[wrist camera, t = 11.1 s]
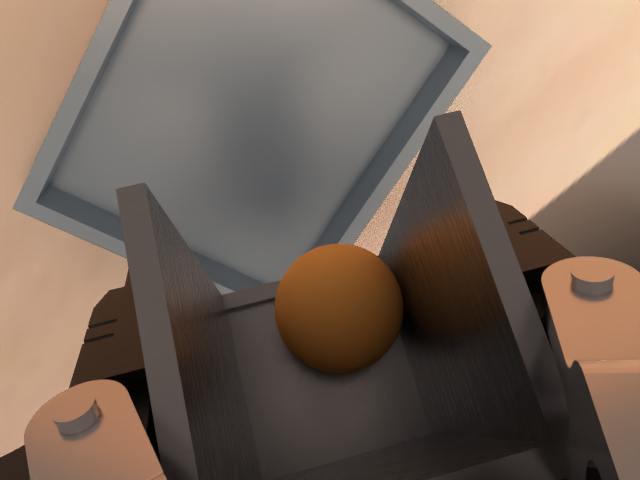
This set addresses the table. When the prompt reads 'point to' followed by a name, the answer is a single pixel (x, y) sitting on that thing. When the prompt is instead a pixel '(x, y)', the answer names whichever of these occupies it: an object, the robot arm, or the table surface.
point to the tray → (248, 122)
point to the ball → (339, 308)
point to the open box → (373, 381)
